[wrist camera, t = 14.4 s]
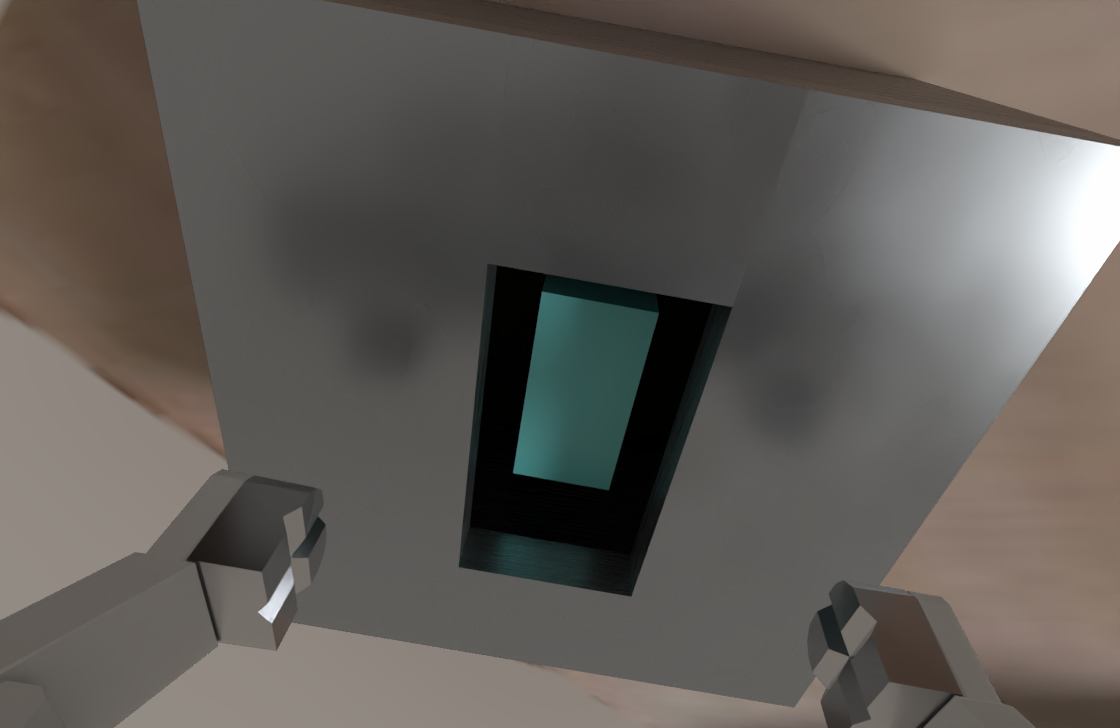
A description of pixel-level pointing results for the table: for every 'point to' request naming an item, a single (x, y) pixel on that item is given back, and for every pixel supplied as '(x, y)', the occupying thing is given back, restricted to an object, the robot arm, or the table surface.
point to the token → (583, 379)
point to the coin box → (618, 260)
